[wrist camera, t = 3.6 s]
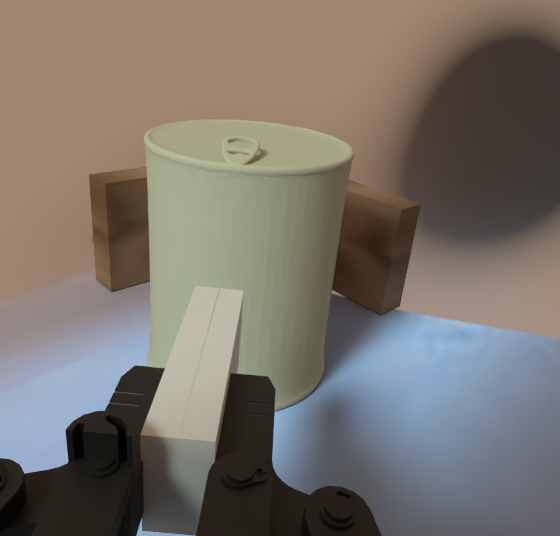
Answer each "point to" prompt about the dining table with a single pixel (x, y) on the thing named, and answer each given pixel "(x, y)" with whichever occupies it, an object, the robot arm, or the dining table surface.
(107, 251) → the v stop
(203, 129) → the can
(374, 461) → the dining table surface
